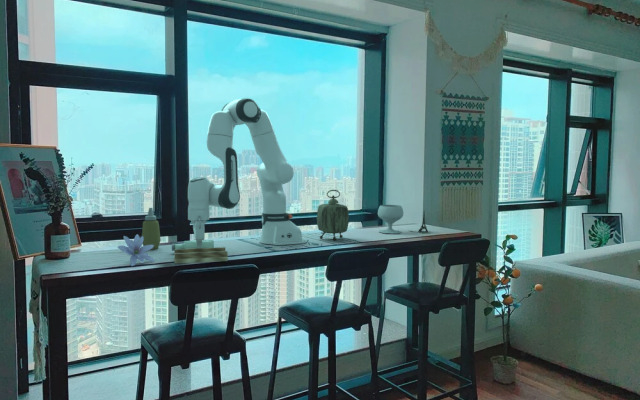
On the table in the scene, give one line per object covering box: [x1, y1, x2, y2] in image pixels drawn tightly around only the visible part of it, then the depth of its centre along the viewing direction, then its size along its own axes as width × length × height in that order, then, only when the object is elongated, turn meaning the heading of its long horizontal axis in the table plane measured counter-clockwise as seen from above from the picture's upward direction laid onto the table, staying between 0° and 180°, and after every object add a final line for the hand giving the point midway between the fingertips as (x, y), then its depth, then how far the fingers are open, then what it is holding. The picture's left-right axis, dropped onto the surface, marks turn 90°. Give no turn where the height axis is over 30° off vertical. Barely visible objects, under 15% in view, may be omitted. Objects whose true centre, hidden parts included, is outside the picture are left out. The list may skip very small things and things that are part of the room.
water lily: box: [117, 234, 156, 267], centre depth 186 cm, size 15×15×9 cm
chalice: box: [377, 204, 404, 235], centre depth 268 cm, size 14×14×15 cm
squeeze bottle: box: [141, 207, 162, 250], centre depth 214 cm, size 8×8×18 cm
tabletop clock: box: [316, 189, 350, 241], centre depth 242 cm, size 14×9×25 cm, turn 108°
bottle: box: [171, 239, 215, 252], centre depth 207 cm, size 17×5×5 cm, turn 106°
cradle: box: [174, 246, 229, 264], centre depth 193 cm, size 20×12×4 cm, turn 106°
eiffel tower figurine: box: [409, 210, 432, 235], centre depth 272 cm, size 15×10×13 cm
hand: (199, 247), depth 207 cm, fingers closed on bottle, 5 cm apart
